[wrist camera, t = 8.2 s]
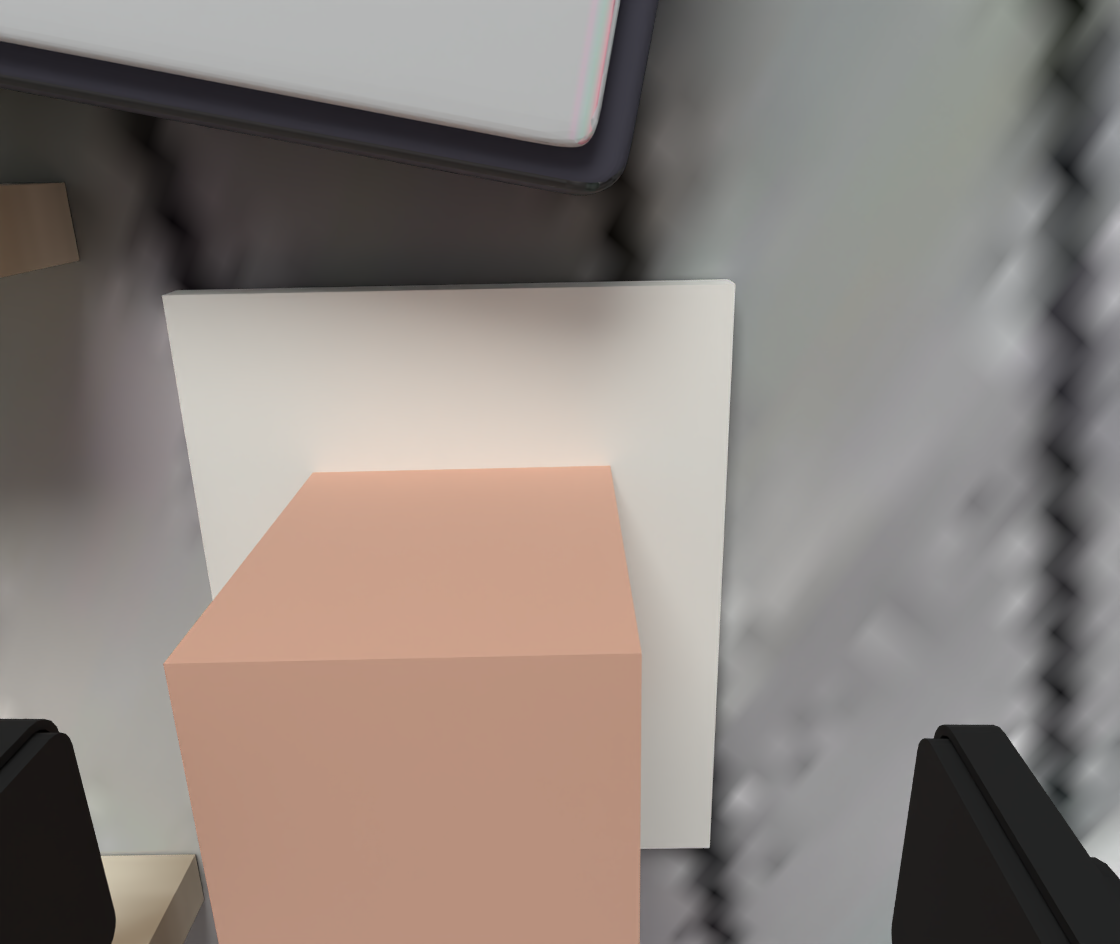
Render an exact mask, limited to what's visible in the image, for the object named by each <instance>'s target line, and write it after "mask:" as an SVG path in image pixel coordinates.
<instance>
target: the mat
mask: <svg viewBox="0 0 1120 944" xmlns="http://www.w3.org/2000/svg"><path fill="white" fill-rule="evenodd" d="M162 299H163V305H164V311H165V317H166V323H167V329H168V335H169V341H170V347H171V353H172V359H173V365H174V371H175V377H176V383H177V389H178V395H179V401H180V407H181V413H182V419H183V425H184V431H185V437H186V443H187V449H188V455H189V461H190V467H191V473H192V479H193V485H194V491H195V497H196V503H197V509H198V515H199V521H200V527H201V533H202V539H203V545H204V551H205V557H206V563H207V569H208V575H209V581H210V587H211V593H212V599H213V600H214V598H215V597H216V596H217V595H218V593H219V592H220V591H221V589H222V588H223V587H224V586H225V584H226V583H227V582H228V580H229V579H230V578H231V577H232V575H233V574H234V573H235V572H236V570H237V569H238V568H239V566H240V565H241V564H242V563H243V561H244V560H245V559H246V557H247V556H248V555H249V554H250V552H251V551H252V550H253V548H254V547H255V546H256V545H257V543H258V542H259V541H260V540H261V538H262V537H263V536H264V534H265V533H266V532H267V531H268V529H269V528H270V527H271V525H272V524H273V523H274V522H275V520H276V519H277V518H278V516H279V515H280V514H281V513H282V511H283V510H284V509H285V507H286V506H287V505H288V504H289V502H290V501H291V500H292V499H293V497H294V496H295V495H296V493H297V492H298V491H299V490H300V488H301V487H302V486H303V484H304V483H305V482H306V481H307V479H308V478H309V477H310V475H311V474H312V473H314V472H357V471H400V470H443V469H486V468H528V467H571V466H610V467H611V473H612V479H613V485H614V491H615V497H616V503H617V509H618V515H619V521H620V527H621V533H622V539H623V545H624V551H625V557H626V563H627V569H628V575H629V580H630V586H631V592H632V598H633V604H634V610H635V616H636V622H637V628H638V634H639V640H640V646H641V652H642V684H641V822H640V849H672V848H710V829H711V807H712V785H713V763H714V741H715V719H716V697H717V675H718V654H719V632H720V610H721V588H722V566H723V544H724V522H725V500H726V478H727V457H728V435H729V413H730V391H731V369H732V347H733V325H734V303H735V284H734V283H733V282H732V281H730V280H729V279H714V280H664V281H613V282H563V283H512V284H461V285H411V286H360V287H309V288H259V289H208V290H176V291H173V292H170V293H168V294H165V295H162Z"/></svg>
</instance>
